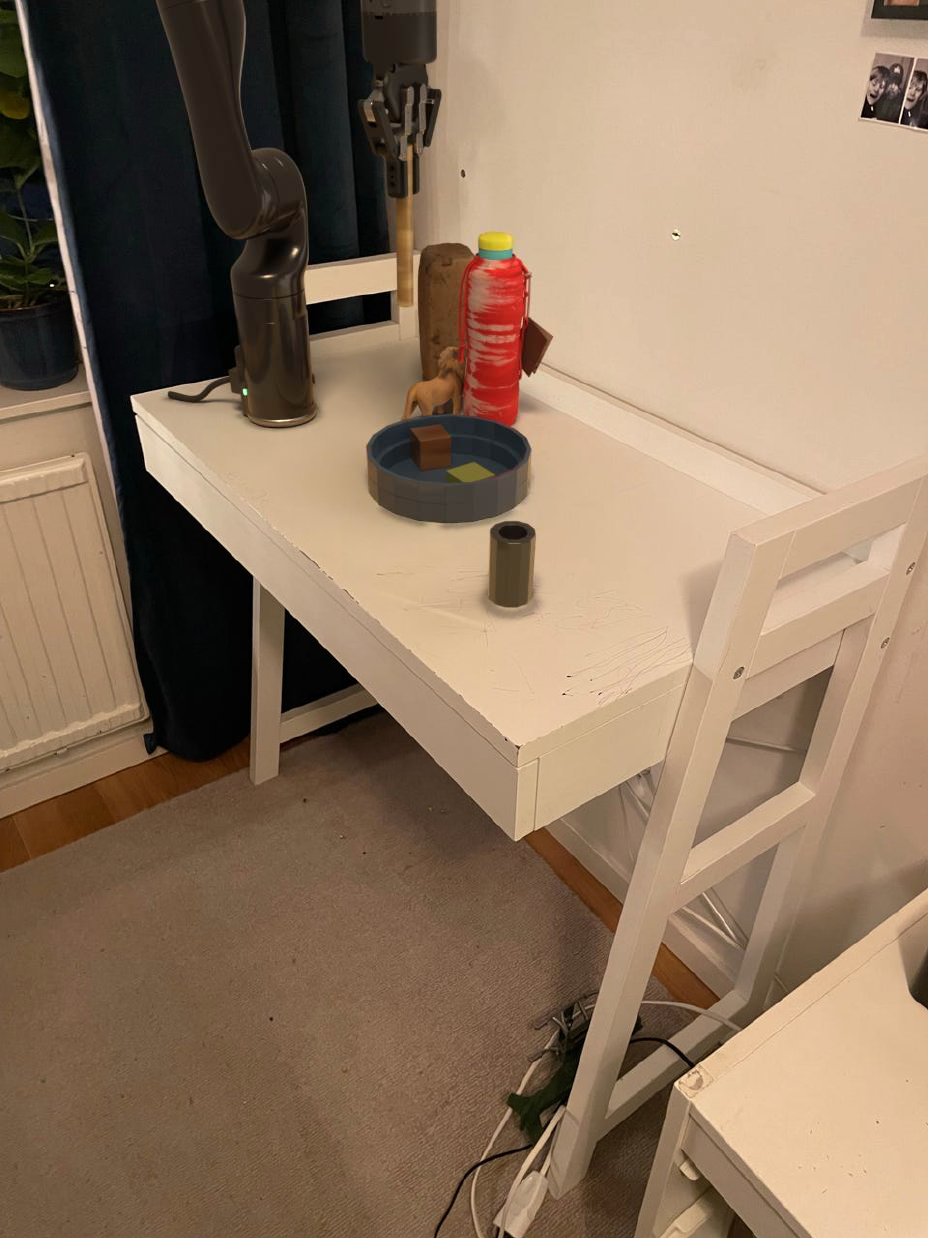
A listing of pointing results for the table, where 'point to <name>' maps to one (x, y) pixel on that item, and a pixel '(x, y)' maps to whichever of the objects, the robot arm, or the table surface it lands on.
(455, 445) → the bowl
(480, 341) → the water bottle
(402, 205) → the stirring stick
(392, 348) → the table surface
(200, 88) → the robot arm
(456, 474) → the olive block
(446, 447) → the walnut block
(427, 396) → the lion figurine
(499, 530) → the holder
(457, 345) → the block
